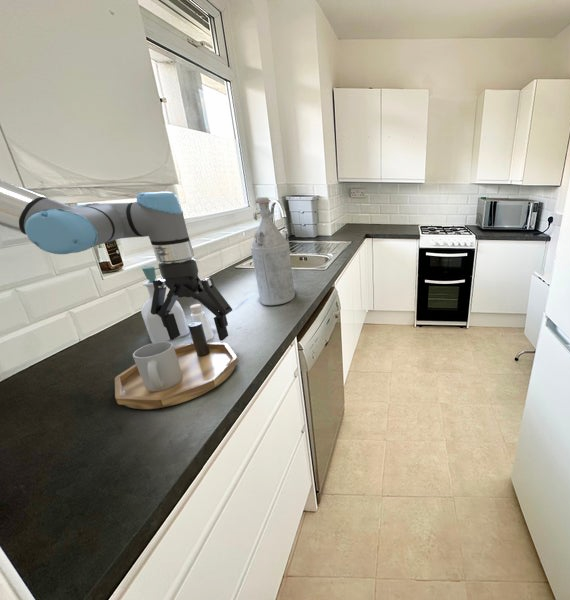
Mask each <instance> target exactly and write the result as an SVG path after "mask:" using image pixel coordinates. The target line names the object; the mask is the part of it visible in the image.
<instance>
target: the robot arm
mask: <svg viewBox="0 0 570 600" xmlns="http://www.w3.org/2000/svg"><path fill="white" fill-rule="evenodd" d="M135 198H136V201H134V202H115V203H113V202H111V203H106V202H105V203H95V202H94V203H87V204H78V205H75V206H70V205H68V204H65V203H63V202H60V201H57V200H55V199H52V198H49V197H47V196H46V195H45V196H44V195H42V194H39V193H37V192H35V191H33V190H29V189H27V188H25V187H23V186H19V185H16V184H14V183H12V182H9V181H6V180H4V179H2V178H0V227H2V228H5V229H8V230H11V231H14V232H17V233H19V234H22V235H26V236H27V238H28V240H29V241H30V242H31V243H32V244H34V245H35V246H36V247H37V248H39V249H40V250H41V251H44V252H46V253H50V254H53V255H70V254H76V253H80V252H84V251H87V250H89V249H92V248H94V247H97V246H100V245H103V244H104V245H105V244H107V243H110V242H114V241H117V240H119V239H129V238H144V237H148V239H149V240H150V244H151V247H152V250H153V252H154V256H155V259H156V261H158V262H159V263H158V264H157V266H158V268H159V269H158V270H159V273H160V275H161V277H160V278H156V279H155V280H154V281H153V285H154V294H153V300H152V306H151V314H153V315H155V314H157V315H158V316H159V317H161V320H162V323H163V325H164V327H166V329H167V332H168V335H169V337H170V340H169V341H174V340H176V339H178V338H177V337H178V336H180V332H179V329H178V326H177V323H176V320H175V317H174V314H173V313H170V311H171V309H172V307H173V305H174V304H175V302H176V300H177V301H178V299H179V298H192V299H193V300H197V301H198V302H199V303H200V304H201V305H203V306H204V307H205V308H206V309H207V310H208V311H209V312H211V313H212V314H213V315H214V317H213V322H214V325H215V328H216V332H217V337H218V340H219V341H224V340H225V339H226V338H228V337H229V331H228V328H227V327H228V325H229V323H228V318H227V315H228V314H230V313H231V312H232V311H233V308H232V307H231V305H230V304H229V303H228V301H227V300H226V299H225V297H224V296H223V295H222V293H221V292H220V291H219V290H218V288H217V287H216V286H215V283H214V280H213V279H212V277H207V278H203V279H201V278H200V277H199V268H198V265H197V261H196V258H194V256H195V252H194V250H193V245H192V243H191V239H190V236H189V232H188V228H187V224H186V221H185V217H184V211H183V210H182V209H183V208H182V207H181V204H180V201H179V198H178V196H177V194H175V193H174V192H172V191H155V192H153V191H152V192H151V191H150V192H139V193H137V194H136V196H135ZM167 288H168V292H167ZM166 292H167V294H166ZM165 295H166V296H167V298H166V300H165V302H164V299H165ZM171 312H172V311H171ZM169 313H170V314H169ZM175 338H176V339H175Z"/></svg>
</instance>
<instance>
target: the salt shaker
mask: <svg viewBox="0 0 570 600" xmlns="http://www.w3.org/2000/svg"><path fill="white" fill-rule="evenodd" d="M189 309H190V311H191V313H190V324H191V323H193V322H201V323H202V326H203V329H204V333H205V337H206V340H207V342H208V341H210V340H213V339H214V337H215V333H214V331H213V329H212V326H211V324H210V322H209V319H208V317H207V314H206V312H205V311H204V310H203V309H202V304H201V303H194V304H191V305H190V306H189Z"/></svg>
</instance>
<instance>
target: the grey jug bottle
mask: <svg viewBox="0 0 570 600" xmlns="http://www.w3.org/2000/svg"><path fill="white" fill-rule="evenodd" d="M255 198H256V199H255V200H254V201H255V202H254V207H256V204H258V207H256V209H255V211H254V212H253V213H252V216H253V219H254V220H255V221H258V215H260V217H261V220H260V223H259V226H258V228H257V231H255V232H254V237H253V240H252V243H251V246H250V247H249V248H250V251H251V256H252V263H253V268H254V274H255V279H256V284H257V291H258V295H259V300H260V303H261V305H264V306H279V305H282V304H286V303H289V302H292V300H294V299H295V296H296V294H295V285H294V276H293V268H292V260H291V251H290V243H289V242H288V241H287V239H286V238H285V237H284V235H283V234H282V232H281V231H280V230H279V228H278V227H277V226H276V224H275V223H274V222H273V220H272V219H273V217H274V213H272V212H271V210H270V203H272V201H271V200H270V199H269V197H268V196H255ZM258 209H259V212H257V210H258Z"/></svg>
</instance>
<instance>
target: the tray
mask: <svg viewBox="0 0 570 600" xmlns="http://www.w3.org/2000/svg"><path fill="white" fill-rule="evenodd" d="M187 325H188V328H189V333H190V337H191V340H192V342H189V343H185V344H181V345H179V346H175V347H174V350H175V353H176V356H177V359H178V362H179V365H180V368H181V371H182V375H183V377H182V379H181V381H180V382H179V383H178V384H177V385H175V386H173V387H171V388H169V389H166V390H163V391H158V392H152V391H149V390H147V389H146V388H145V386H144V383H143V381H142V378H141V376H140V373H139V370H138V368H137V365H136V363H134V364H133V365H131V366H130V367H128V368H127V369H126V370H124V371H122V372H121V373H119V374H118V375H116V376H115V377H114V399H115V401H116V404H117V405H119V406H125V407H127V408H131V409H136V410H153V409H154V410H155V409H160V408H161V409H162V408H167V407H171V406H174V405H175V406H176V405H178V404H182V403H185V402H188V401H190V400H193V399H195V398H198V397H200V396H202V395H204V394H206V393H208V392H210V391H212V390H214V389H215V388H216V387H218V386H220V385H221V384H222V383H223V382H224V381H226V380H227V379H228V378H229V377H230V376H231V375H232V373H233V372H234V371H235V369H236V366H237V365H238V364H239V358H238V355H236V353H235V351H234V350H233V349H232V347H231V345H229V343H228V342H208V341H207V340H206V337H205V333H204V329H203V326H202V323H201V322H193V323H191V322H190V323H189V324H187Z"/></svg>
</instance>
